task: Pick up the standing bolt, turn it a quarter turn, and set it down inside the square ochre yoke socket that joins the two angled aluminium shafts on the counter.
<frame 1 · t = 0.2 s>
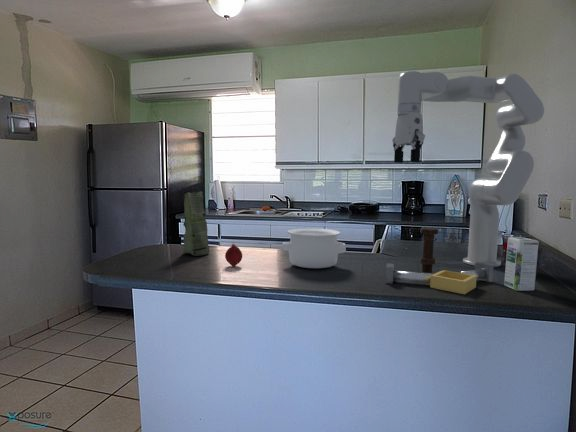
hand: (406, 162, 134), 36 cm above the table, tool pointing down, fingers open, 9 cm apart
onion: (233, 267, 136), on the table
pot: (313, 266, 138), on the table
pouch: (195, 254, 156), on the table
yoke socket: (453, 287, 113), on the table
syrup box: (518, 288, 114), on the table
shaft b: (470, 282, 119), on the table
shaft a: (412, 283, 117), on the table
bolt: (426, 274, 129), on the table
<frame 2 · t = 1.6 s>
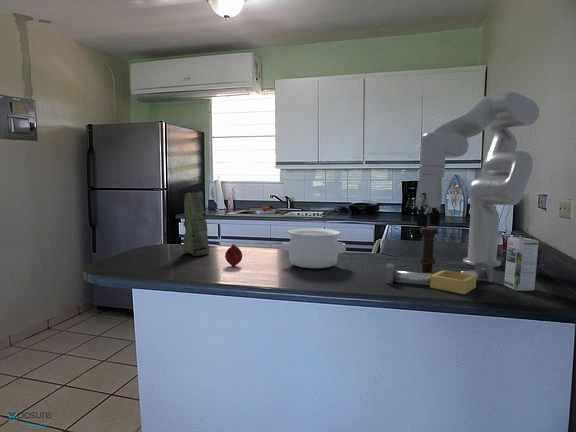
hand: (428, 225, 127), 16 cm above the table, tool pointing down, fingers open, 9 cm apart
nothing on the table moved.
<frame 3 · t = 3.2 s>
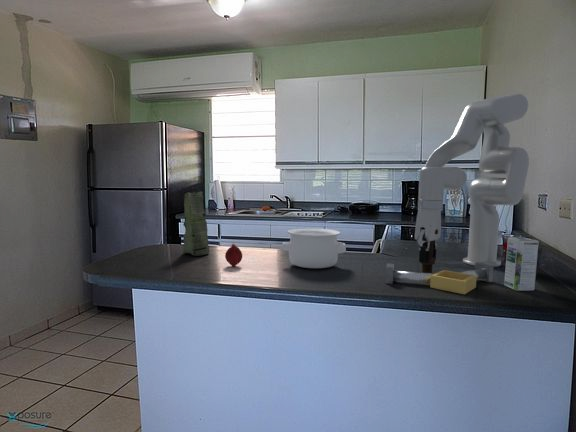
hand: (427, 260, 128), 4 cm above the table, tool pointing down, fingers closed on bolt, 4 cm apart
bolt: (426, 274, 129), on the table, touching gripper
everything else where it was.
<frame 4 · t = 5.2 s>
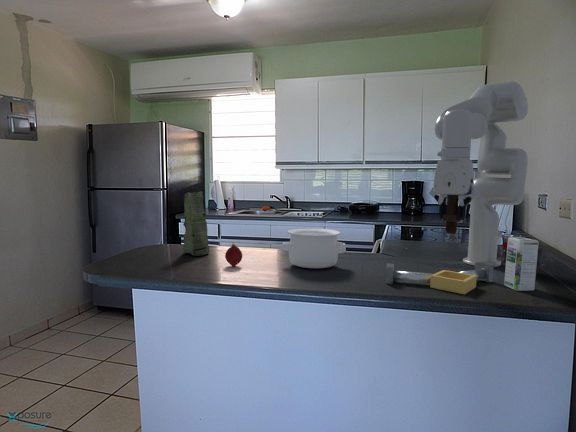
hand: (451, 218, 114), 20 cm above the table, tool pointing down, fingers closed on bolt, 4 cm apart
bolt: (450, 234, 114), point 15 cm above the table, touching gripper
everything else where it was.
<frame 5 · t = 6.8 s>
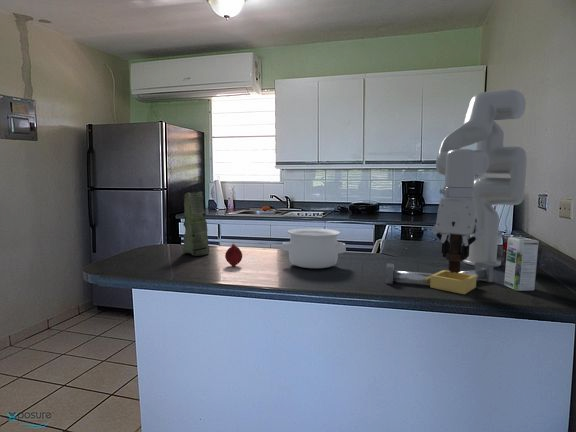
hand: (454, 257, 113), 9 cm above the table, tool pointing down, fingers closed on bolt, 4 cm apart
bolt: (453, 272, 113), point 4 cm above the table, touching gripper
everything else where it was.
when the fingers open (6 cm above the table, at t = 7.6 s): bolt drops 2 cm, resting in yoke socket.
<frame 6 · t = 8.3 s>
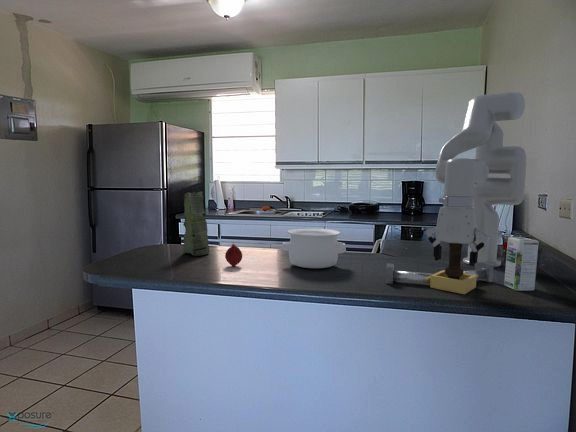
hand: (454, 262, 113), 7 cm above the table, tool pointing down, fingers open, 9 cm apart
bolt: (453, 287, 114), resting in yoke socket
everything else where it was.
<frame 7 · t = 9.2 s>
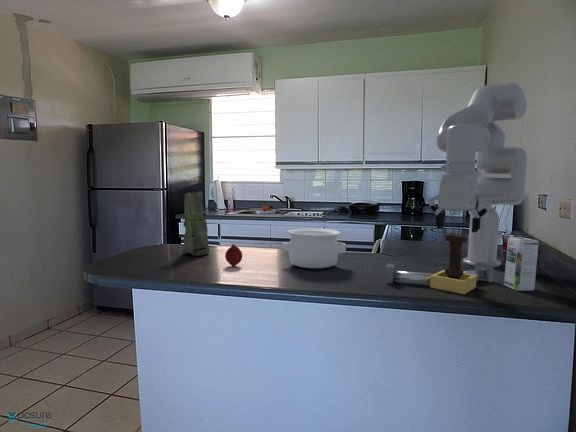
hand: (457, 230, 112), 17 cm above the table, tool pointing down, fingers open, 9 cm apart
nothing on the table moved.
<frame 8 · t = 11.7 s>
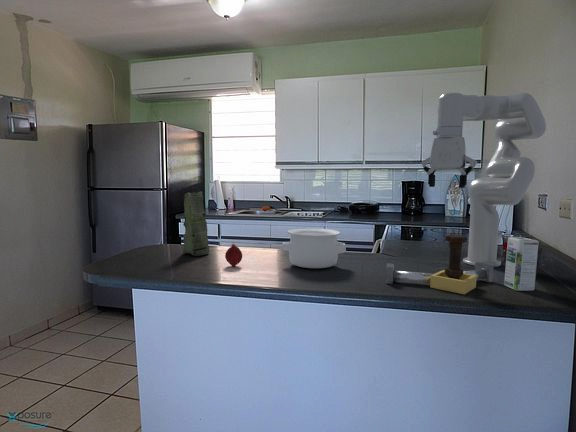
hand: (446, 187, 128), 28 cm above the table, tool pointing down, fingers open, 9 cm apart
nothing on the table moved.
at the end: bolt 0.2 cm off-centre on the yoke socket, point 0.0 cm above the yoke socket's base; bolt tilted 0°; the gripper is holding nothing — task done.
